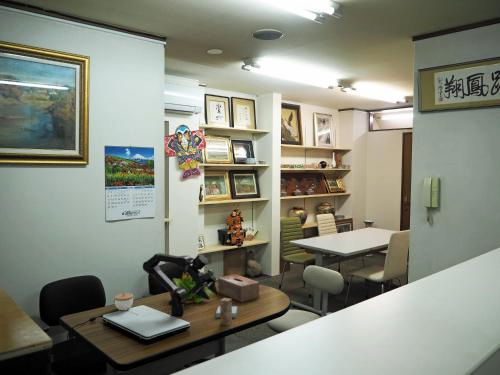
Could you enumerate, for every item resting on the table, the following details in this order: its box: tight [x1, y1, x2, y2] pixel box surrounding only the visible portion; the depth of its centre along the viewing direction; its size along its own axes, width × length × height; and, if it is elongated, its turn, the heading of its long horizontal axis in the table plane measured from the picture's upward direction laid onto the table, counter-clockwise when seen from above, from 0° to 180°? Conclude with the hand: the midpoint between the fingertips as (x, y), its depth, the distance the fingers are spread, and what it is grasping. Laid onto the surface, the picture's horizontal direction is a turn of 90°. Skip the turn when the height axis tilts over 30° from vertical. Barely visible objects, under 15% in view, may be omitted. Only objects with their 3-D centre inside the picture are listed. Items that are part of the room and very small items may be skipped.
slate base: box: [215, 305, 238, 319], centre depth 231 cm, size 11×11×2 cm
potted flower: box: [171, 271, 213, 304], centre depth 255 cm, size 25×24×18 cm
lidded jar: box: [114, 292, 134, 311], centre depth 240 cm, size 11×11×9 cm
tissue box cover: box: [217, 273, 260, 303], centre depth 267 cm, size 26×14×10 cm, turn 38°
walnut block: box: [219, 297, 233, 326], centre depth 217 cm, size 4×4×13 cm
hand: (213, 297), depth 220 cm, fingers open, 9 cm apart
